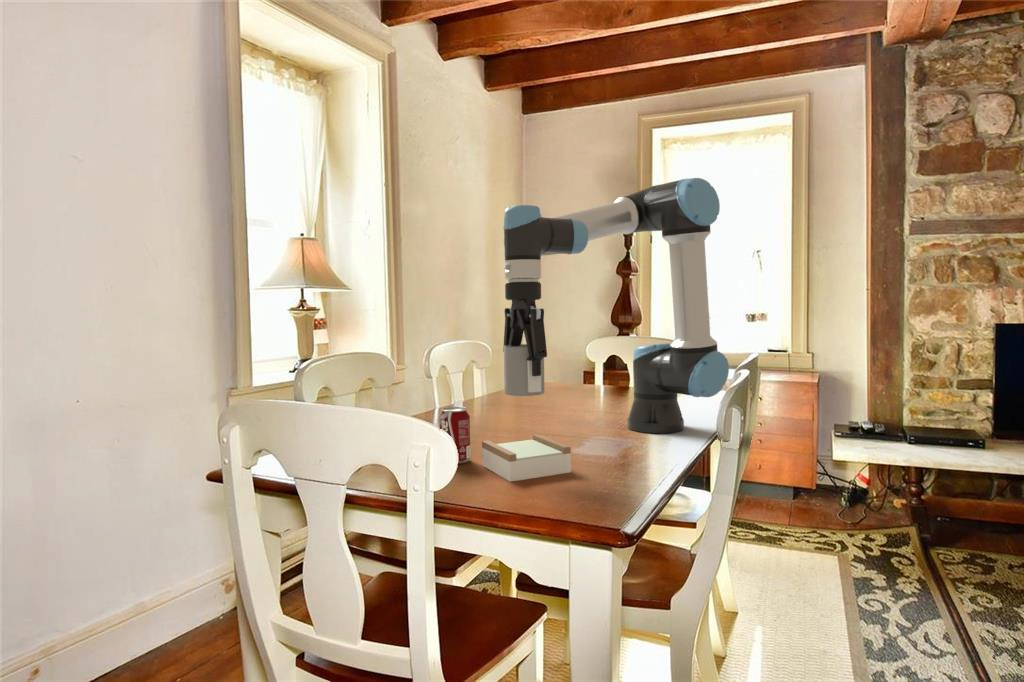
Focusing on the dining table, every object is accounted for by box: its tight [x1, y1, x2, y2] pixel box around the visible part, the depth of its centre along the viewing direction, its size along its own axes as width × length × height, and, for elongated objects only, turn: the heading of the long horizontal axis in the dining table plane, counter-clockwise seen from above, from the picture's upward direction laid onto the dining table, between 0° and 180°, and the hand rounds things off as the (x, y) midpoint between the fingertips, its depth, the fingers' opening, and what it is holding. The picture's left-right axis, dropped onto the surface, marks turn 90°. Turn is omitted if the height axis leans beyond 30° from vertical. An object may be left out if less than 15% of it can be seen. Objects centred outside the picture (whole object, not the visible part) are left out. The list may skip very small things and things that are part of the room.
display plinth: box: [481, 434, 572, 483], centre depth 137 cm, size 14×14×5 cm
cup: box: [503, 343, 546, 397], centre depth 135 cm, size 8×8×10 cm
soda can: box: [438, 406, 472, 465], centre depth 143 cm, size 7×7×12 cm
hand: (524, 388), depth 136 cm, fingers closed on cup, 8 cm apart
